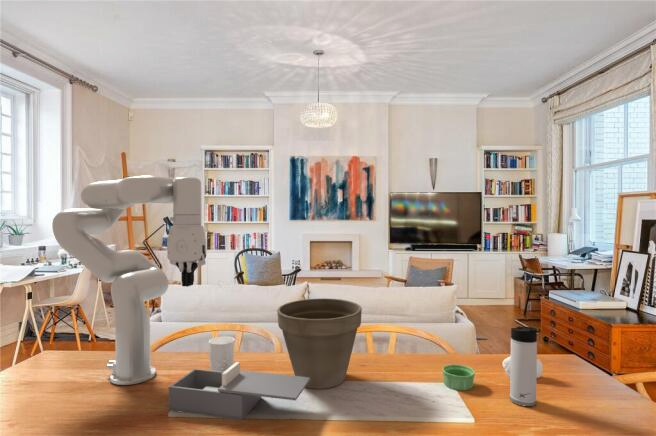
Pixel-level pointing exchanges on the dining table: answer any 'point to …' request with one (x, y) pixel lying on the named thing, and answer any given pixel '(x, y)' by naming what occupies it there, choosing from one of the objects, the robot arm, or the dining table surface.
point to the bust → (507, 367)
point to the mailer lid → (262, 383)
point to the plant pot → (320, 338)
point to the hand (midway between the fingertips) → (187, 285)
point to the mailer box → (208, 396)
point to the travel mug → (523, 365)
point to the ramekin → (458, 377)
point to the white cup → (221, 353)
